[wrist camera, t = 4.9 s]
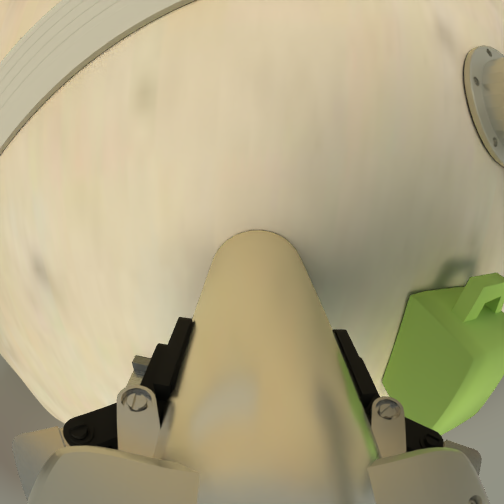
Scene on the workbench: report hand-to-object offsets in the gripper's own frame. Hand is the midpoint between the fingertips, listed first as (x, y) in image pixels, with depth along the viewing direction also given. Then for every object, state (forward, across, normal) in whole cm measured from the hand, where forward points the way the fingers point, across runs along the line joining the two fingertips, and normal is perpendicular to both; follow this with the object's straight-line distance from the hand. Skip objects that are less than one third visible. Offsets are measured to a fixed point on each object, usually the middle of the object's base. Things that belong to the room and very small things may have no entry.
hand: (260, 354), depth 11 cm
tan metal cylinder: (+9, 0, 0) cm, 9 cm away
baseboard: (+9, +20, -19) cm, 29 cm away
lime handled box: (+9, -19, +6) cm, 22 cm away
